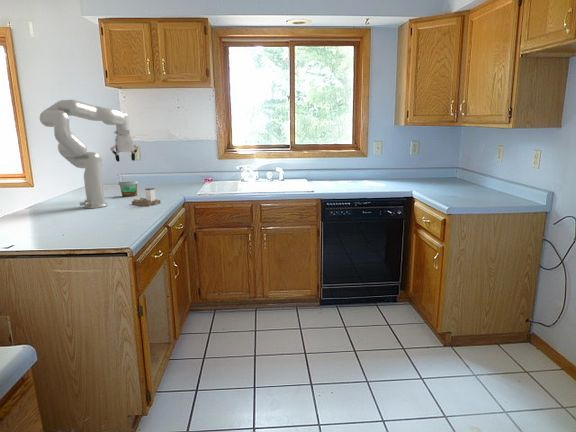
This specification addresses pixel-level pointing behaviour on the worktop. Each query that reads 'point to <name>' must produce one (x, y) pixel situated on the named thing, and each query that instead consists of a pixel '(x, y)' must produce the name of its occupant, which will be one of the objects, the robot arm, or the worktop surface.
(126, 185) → the food container
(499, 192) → the worktop surface
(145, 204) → the rail board
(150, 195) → the slider tab
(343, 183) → the worktop surface
